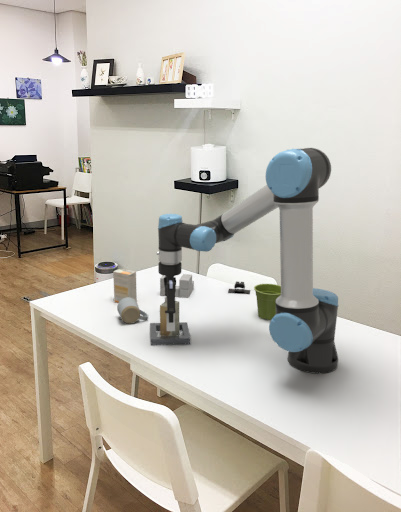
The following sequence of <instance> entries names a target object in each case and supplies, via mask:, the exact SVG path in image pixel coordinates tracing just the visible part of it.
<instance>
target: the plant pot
mask: <svg viewBox="0 0 401 512" xmlns="http://www.w3.org/2000/svg"><path fill="white" fill-rule="evenodd" d="M253 289H254V291H255V296H256V305H257V316H258V317H259V318H260V319H263V320H267V321H271V320H272V318H273V317H274V316H275V315H276V299H277V298H278V297H279V296H280V295H281V285H279V284H274V283H260V284H256V285H254V287H253Z"/></svg>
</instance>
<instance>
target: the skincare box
mask: <svg viewBox="0 0 401 512" xmlns="http://www.w3.org/2000/svg"><path fill="white" fill-rule="evenodd" d="M175 310H176V313H175V331H167V313H165V311H167V301H166V302H165V301H164V302H162V303H161V304H160V305H159V323H160V331H159V334H160V335H159V336H180V331H179V322H180V300H179V301H177V300H175Z"/></svg>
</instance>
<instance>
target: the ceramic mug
mask: <svg viewBox="0 0 401 512" xmlns="http://www.w3.org/2000/svg"><path fill="white" fill-rule="evenodd" d="M139 307H140V306H139V304H138V302H136V301H135V300H134V299H133V298H130V297H126V298H123V299H122V300H120V302H119V303H117V308H116V309H117V312H118V314H119V317H120V319H121V320H122V322H124V323H126V324H134V323H136V322H137V321H138V320H140V321H147V320H148V319H149V318H148V317H149V314H147V312H145V311H143V310H142V309H140V308H139Z"/></svg>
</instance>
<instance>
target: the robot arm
mask: <svg viewBox="0 0 401 512" xmlns="http://www.w3.org/2000/svg"><path fill="white" fill-rule="evenodd" d="M330 161H331V160H330V159H329V156H327V154H326V153H325V152H323V151H322V150H320V149H319V148H314V147H304V148H291V149H286V150H283V151H280V152H278V153H277V154H275V155H274V156H273V157H272V158H271V159H270V160H269V162H268V164H267V166H266V170H265V181H266V185H265V186H262V188H259V189H258V190H257V191H256V192H253V193H252V194H251V195H249V196H247V197H246V198H245V199H243V200H241V201H240V202H239V203H237V204H235V205H234V206H233V207H230V209H228V210H226V211H225V212H224V213H222V214H221V215H219V216H217V217H216V218H214V219H212V220H209V221H205V222H202V223H197V224H191V223H185V222H183V217H182V215H181V214H177V213H164V214H161V215H160V216H158V226H157V227H158V228H157V231H158V251H157V252H156V255H157V256H158V261H159V262H158V267H157V268H158V273H159V275H161V276H165V277H164V286H165V296H164V302H166V301H167V311H165V313H167V331H175V313H176V310H175V301H176V297H175V292H176V286H177V279H176V276H179V275H180V274H182V263H183V262H182V261H183V249H182V248H186V249H189V250H195V251H196V252H205V253H207V252H210V251H212V250H213V248H214V247H215V244H218V243H222V242H225V241H228V240H230V239H232V238H233V237H234V235H235V234H236V233H238V232H240V231H241V230H244V229H245V228H247V227H248V226H251V224H253V223H255V222H256V221H258V220H259V219H261V218H263V217H264V216H266V215H267V214H269V213H271V212H272V211H274V210H276V209H277V208H278V209H279V247H280V249H279V250H280V251H279V252H280V257H279V259H280V286H281V295H280V296H279V297H278V298H277V299H276V315H275V316H274V317H273V318H272V320H270V322H269V326H268V329H269V330H268V331H269V334H270V336H271V339H272V341H273V342H274V343H276V344H277V346H278V347H279V348H280V349H282V350H284V351H287V352H288V353H287V361H288V363H289V364H290V365H291V366H292V367H293V368H295V369H297V370H299V371H301V372H302V371H303V372H306V373H310V374H326V373H331V372H333V371H335V370H336V369H337V367H338V366H339V365H338V364H339V355H338V351H337V347H336V342H335V335H336V327H337V326H336V325H337V319H338V310H339V296H338V295H337V294H336V293H334V292H333V291H330V290H326V289H321V288H315V287H314V276H313V274H314V260H313V258H314V255H313V253H314V251H313V250H314V245H313V244H314V240H313V239H314V237H313V236H314V232H313V230H314V228H313V227H314V225H313V223H314V222H313V221H314V219H313V217H314V216H313V212H314V211H313V209H314V206H315V205H317V204H318V202H319V199H320V197H319V194H320V193H319V192H320V190H319V189H321V188H322V187H323V186H325V185H326V184H327V182H328V181H329V179H330V178H331V173H332V165H331V164H332V163H331V162H330Z"/></svg>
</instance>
